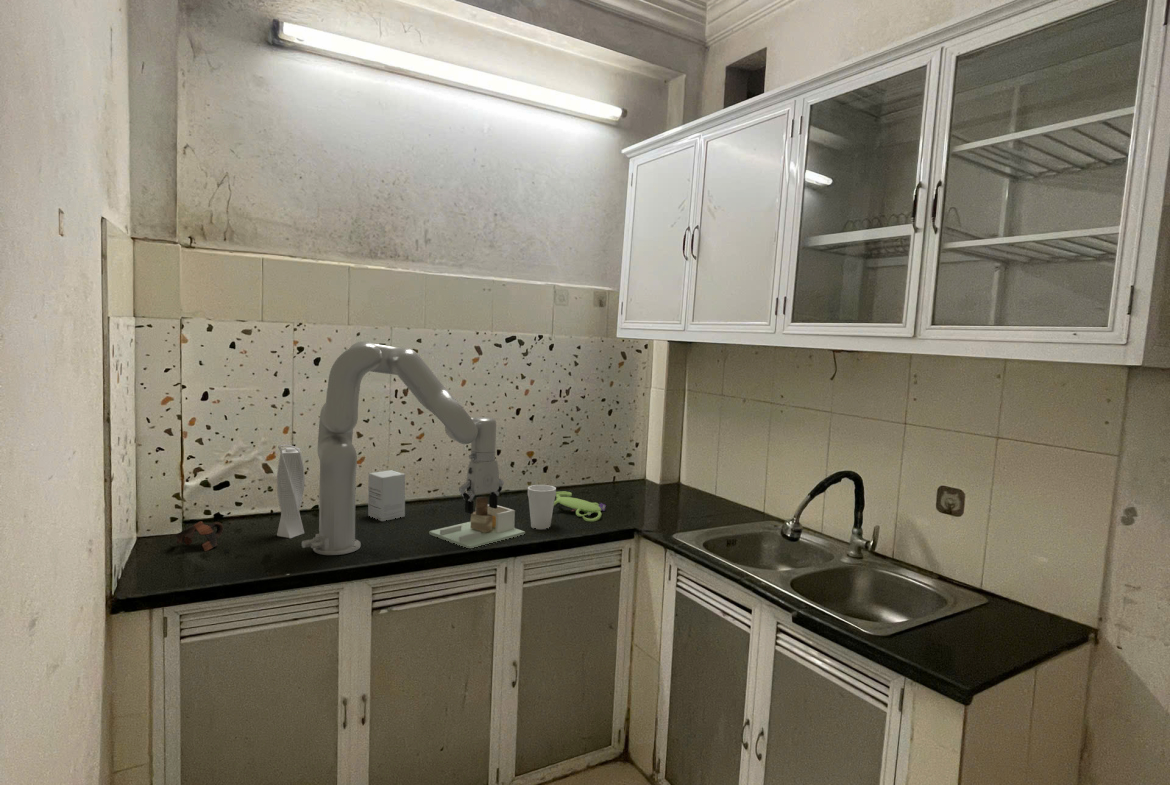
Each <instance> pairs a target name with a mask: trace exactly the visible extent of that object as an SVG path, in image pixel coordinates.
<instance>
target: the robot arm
mask: <svg viewBox="0 0 1170 785" xmlns="http://www.w3.org/2000/svg"><path fill="white" fill-rule="evenodd" d="M369 372H374V373H378V374H386V375H393V376H394V375H395V376H398V378H399V379H400V380H401V381H402V383H403V384H404V386H406V387H407V389H408V390H409V391H410V392H411V394H412V395H413V396H414V398H416V400H417V401H418V402H419V403H420V404H421V405H422V406H423V407H424V408H425V409H426V410H428V411H429V412H430V413H431V414H433V415H434V416H435V417H436V418H437V419H438V420H440V422H441V423H442V424H443V426H444V431H445V434H446V435H447V437H449V438H450V439H451V440H454V441H455V442H457V443H459V444H460V445H461V444H462V445H468V444H470V450H471V451H470V454H469V455H468V459H469V460H470V461H469V463H468V467H467V473H466V480H465V482H464V483H463V484H462V485H460V486H459V487H458V491H459V493H460V496H461V497H462V498H463V500H464V502H465V503H464V512H465V513H467V514H470V515H471V514H473V512H474V500H473V499H474V498H475V496H476V495H477V496H478V495H479V496H481V495H485V494H489V498H488V505H489V507H491V508H495V509H496V508H497V505H498V498H499V497H498V496H500V493H501V491H502V489H503V486H504V483H505V480H503V479H501V478H500V472H499V464H498V460H497V459H496V442H497V441H496V440H497V420H496V419H495V418H494V417H491V416H490V417H488V416H477V417H471V416H470V414H469V413H468V412H467V411H466V409H465V408H464V407H463V406H462V405H461V403H459V402H458V400H457V399H456V398H455V397H454V396H453V395H452V394H451V392H450V391H449V390H448V389H447V388H446V387H445V385H444V384H443V383H442V382H441V381H440V379H439V378H438V377H437V376H436V374H434V372H433V371H432V369H430V367H429V365H427V363H426V362H425V361H424V359H422V357H421V356H420V355H419V354H418V353H417V352H416V351H415V350H413V349H411V348H406V347H399V346H389V345H385V344H377V343H373V342H370V341H358V342H355V343H353V344H352V345H351V346H350V347H349V348H348V349H346V350H344V351H343V352H342V353H341V354H340V355H339V356H338V357H337V358H336V359H335V361H334V362H333V364H332V366H331V368H330V371H329V375H328V382H327V390H326V399H325V403H324V404H323V406H322V407H321V410H320V414H319V421H318V422H319V423H318V437H317V455H318V456H317V457H318V459H319V485H318V487H319V488H318V490H319V492H318V494H319V498H318V499H319V502H318V503H319V504H318V505H319V507H318V508H319V509H318V510H319V511H318V512H319V513H318V514H319V516H318V519H319V521H318V525H319V527H318V531H319V532H318V533H315V537H313V538H311V539H305V540H302V541H301V547H302V548H303V549H305V548H310V549H312V550H313V552H314V553H316V554H318V555H323V556H340V555H346V554H350V553H355V551H356V552H357V551H358V550H359V549H360V548H361V546H362V544H361V541H360V540H358V539H357V538H356V480H357V478H356V477H357V466H358V456H357V452H356V451H357V450H356V448H355V446H354V445H353V435H354V429H355V427H356V426H357V424H358V421H359V398H360V396H359V395H360V390H361V384H362V380H363V378H364V376H365V375H367V373H369Z"/></svg>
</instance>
